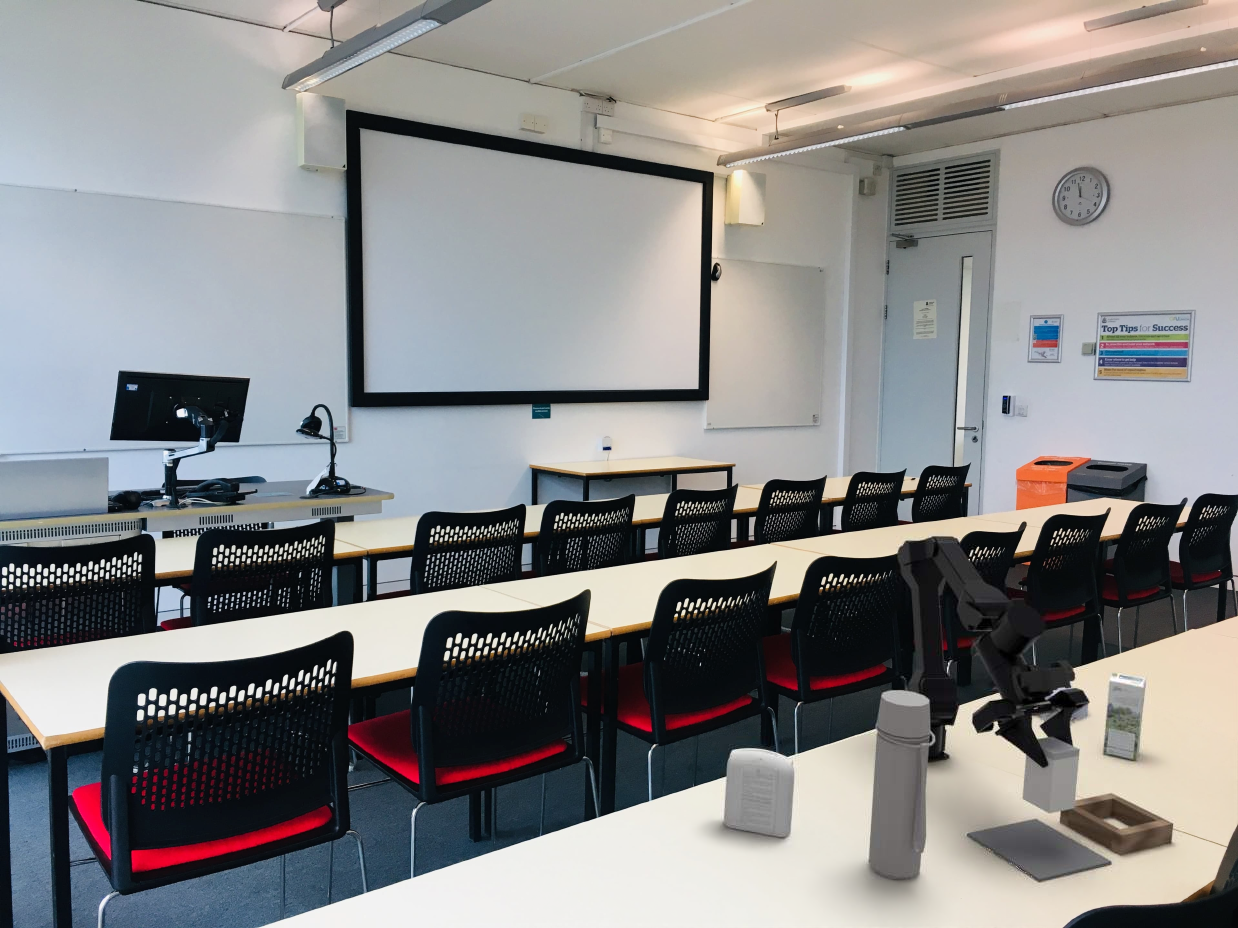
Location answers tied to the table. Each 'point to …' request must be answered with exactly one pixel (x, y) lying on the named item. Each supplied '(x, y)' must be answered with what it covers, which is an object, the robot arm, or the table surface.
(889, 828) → the water bottle
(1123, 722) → the syrup box
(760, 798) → the grey flat block
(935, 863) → the table surface
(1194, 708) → the table surface
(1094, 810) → the frame
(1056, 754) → the grey parts box
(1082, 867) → the rubber mat
